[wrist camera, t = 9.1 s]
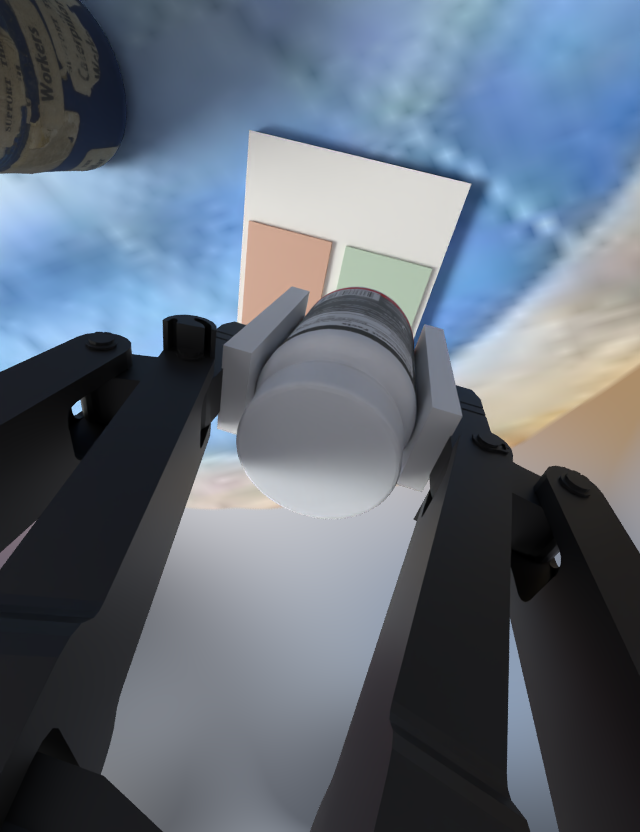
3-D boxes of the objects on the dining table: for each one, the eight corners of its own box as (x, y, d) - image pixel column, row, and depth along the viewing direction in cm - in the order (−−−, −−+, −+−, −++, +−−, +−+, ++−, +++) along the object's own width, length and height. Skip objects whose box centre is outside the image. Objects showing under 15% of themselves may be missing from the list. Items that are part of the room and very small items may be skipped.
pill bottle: (365, 410, 17) (337, 559, 10) (283, 349, 17) (191, 465, 10) (439, 333, 15) (468, 460, 8) (345, 258, 14) (284, 323, 7)
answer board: (255, 131, 24) (247, 129, 23) (469, 183, 23) (471, 184, 22) (238, 371, 34) (232, 378, 33) (384, 414, 33) (382, 422, 32)
